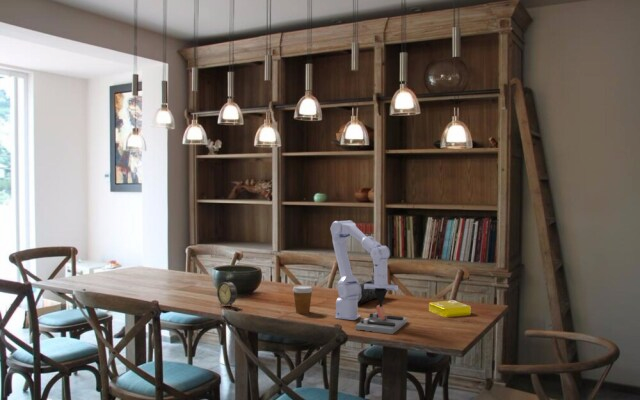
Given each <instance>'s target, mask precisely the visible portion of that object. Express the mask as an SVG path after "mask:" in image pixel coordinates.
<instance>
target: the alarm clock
mask: <svg viewBox="0 0 640 400" xmlns="http://www.w3.org/2000/svg"><path fill="white" fill-rule="evenodd" d="M227 275H228V276H229V278H227ZM224 278H225V280H226V282H221V283H220V284H219V285H218V286H217V292H216V295H217V300H218V302H219V303H220V304H219V306H222V305H223V306H228V305H229V306H230V308H231V309H232V308H233V304H234V303H235V302H236V301H237V297H238V290H237V287H236V285H235V284H234V283H233V282H231V281H229V280H230V279H231V276H230V274H229V273H225V275H224Z"/></svg>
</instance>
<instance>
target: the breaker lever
mask: <svg viewBox="0 0 640 400" xmlns="http://www.w3.org/2000/svg"><path fill="white" fill-rule="evenodd" d="M376 311H377V312H376V313H378V318H382V321H383V320H384V319H385V315H386V314H385V309H384V305H383V306H382V307H380V305H379V304H378V305H376Z"/></svg>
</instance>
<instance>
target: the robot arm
mask: <svg viewBox="0 0 640 400" xmlns="http://www.w3.org/2000/svg"><path fill="white" fill-rule="evenodd" d="M329 229H330V234H331V236H332V237H331V238H332V245H333V249H334V254H335V257H336V262H337V266H338V271H339V275H340V279H339V280H338V282H337V294H338V296H339V297H337V299H336V301H335V318H334V319H341V320H351V321H355V320H358V319H359V318H361V315H360V314H358V313H359V312H358V310H359V309H358V306H359V304H358V298H359V295H360V294H361V286H360V284H361V283H360V282H359V279H358V278H356V277H355V276H354V275H353V270H352V266H351V263H350V258H349V254H348V249H347V245H346V242H347V240H348V239H349V237H351V236H352V237H353V238H355V239H356V240H357V241H359V243H361V247H362V248H363V249H364V250H365V251H367V252H368V253H369V254H370V257H371V259H372V264H373V280H374V284H364V289H375V291H374V292H375V294H376V296H377V298H376V299H377V301H378V305H380V307H382V306H383V307H384V300H385V297H386V294H387V293H388V291H398V290H399V285H396V284H389V283H388V259H389V258H390V256H391V250H390V248H389V247H388V246H387V245H382V244H381V243H380V242H378V241H377V240H376V239H374V236H370V235H368V236H367V235H366V234H365V233H364V232H363V231H361V230H360V229H359V227H358V226H357V224H356V223H355V222H354V221H353V220H351V219H350V220H339V221H338V220H335V221H333V222H332V223H331V226H330V228H329Z"/></svg>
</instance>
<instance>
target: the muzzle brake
mask: <svg viewBox="0 0 640 400" xmlns="http://www.w3.org/2000/svg"><path fill="white" fill-rule="evenodd" d="M359 284H360V286H361V294H360V295H359V298H358V305H362V304H365V302H366V301H371V300H374V299H378V298H377V296H376V294H375V292H374V291H375V289H364V284H374V279H371V280H369V281H365V282H360V283H359Z"/></svg>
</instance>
